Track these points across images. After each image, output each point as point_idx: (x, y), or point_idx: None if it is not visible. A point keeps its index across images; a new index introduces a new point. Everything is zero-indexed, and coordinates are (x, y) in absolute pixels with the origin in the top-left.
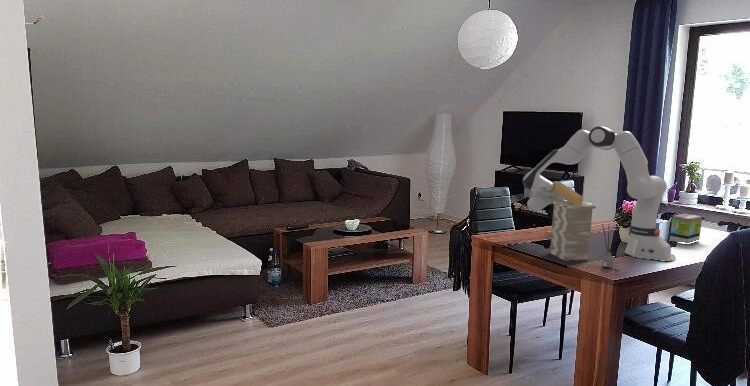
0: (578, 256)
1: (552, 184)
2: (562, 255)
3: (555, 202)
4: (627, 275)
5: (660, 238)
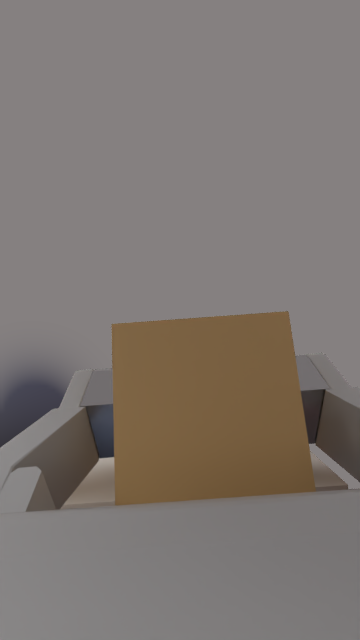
0: None
1: (296, 370)
2: None
3: (312, 454)
4: None
5: None
